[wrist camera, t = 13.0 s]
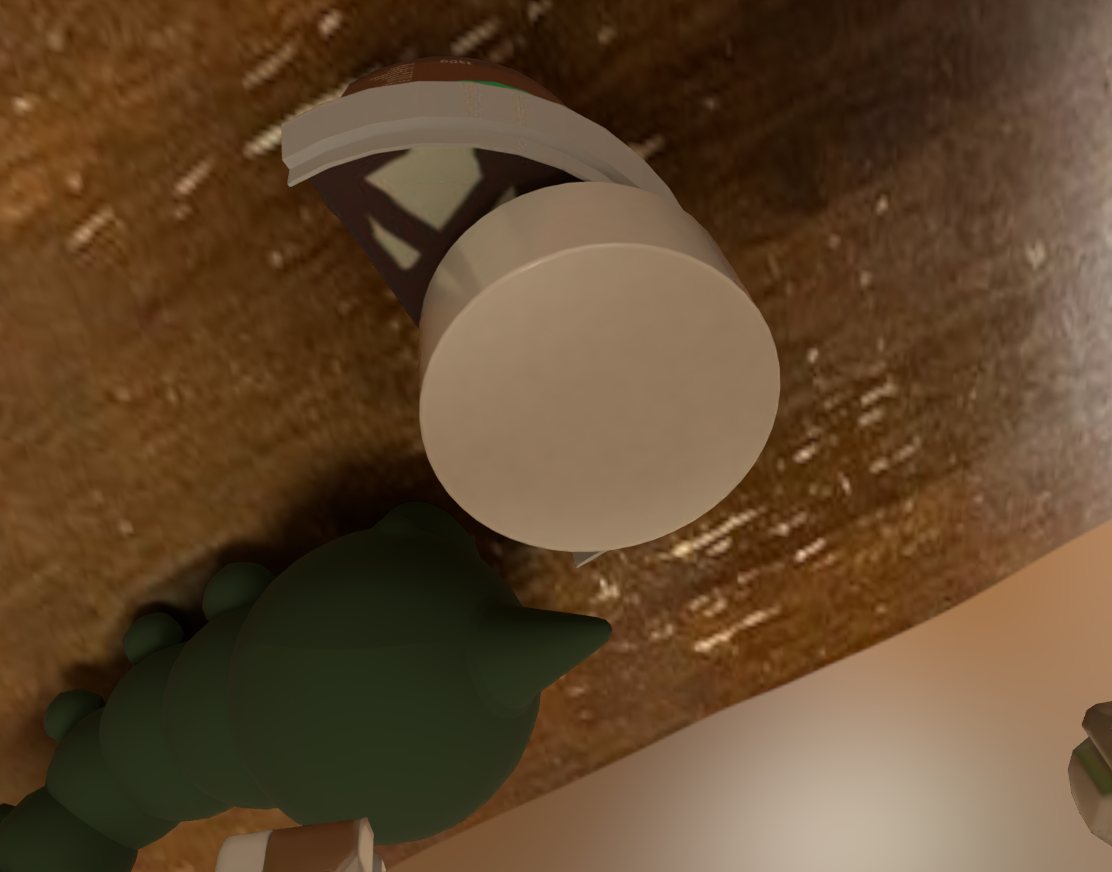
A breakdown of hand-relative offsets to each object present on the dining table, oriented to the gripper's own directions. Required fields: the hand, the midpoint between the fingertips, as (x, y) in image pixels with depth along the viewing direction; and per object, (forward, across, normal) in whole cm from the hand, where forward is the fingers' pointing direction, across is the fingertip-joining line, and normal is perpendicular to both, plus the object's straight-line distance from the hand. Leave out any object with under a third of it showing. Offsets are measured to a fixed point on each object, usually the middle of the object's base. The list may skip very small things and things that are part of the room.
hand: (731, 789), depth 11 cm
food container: (+21, 0, 0) cm, 21 cm away
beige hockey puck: (+11, 0, 0) cm, 11 cm away
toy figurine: (+21, +12, +16) cm, 29 cm away
